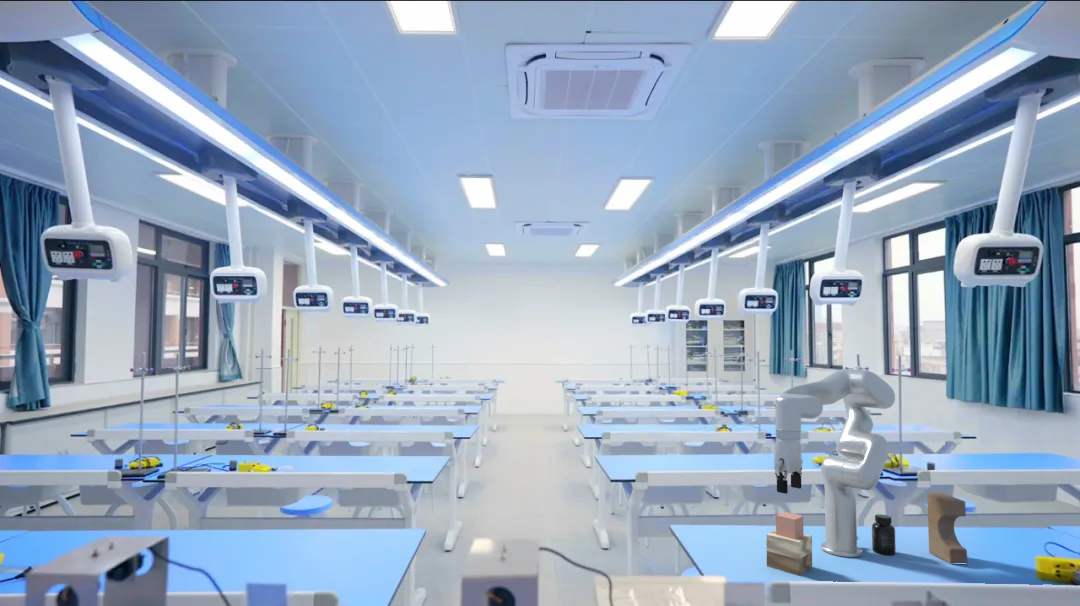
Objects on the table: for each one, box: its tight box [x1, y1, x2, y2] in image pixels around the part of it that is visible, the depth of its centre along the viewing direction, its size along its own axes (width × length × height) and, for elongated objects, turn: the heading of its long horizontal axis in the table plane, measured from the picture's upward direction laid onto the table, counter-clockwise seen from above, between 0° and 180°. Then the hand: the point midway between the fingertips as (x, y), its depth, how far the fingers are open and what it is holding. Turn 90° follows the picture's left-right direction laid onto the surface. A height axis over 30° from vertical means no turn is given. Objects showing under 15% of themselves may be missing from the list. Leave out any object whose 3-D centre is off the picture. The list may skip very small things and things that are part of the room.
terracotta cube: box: [775, 511, 804, 539], centre depth 188 cm, size 6×6×6 cm
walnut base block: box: [766, 550, 813, 576], centre depth 187 cm, size 10×10×5 cm
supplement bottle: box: [871, 513, 897, 557], centre depth 202 cm, size 7×7×12 cm
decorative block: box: [927, 492, 968, 564], centre depth 198 cm, size 11×6×20 cm, turn 0°
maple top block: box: [766, 529, 813, 559], centre depth 187 cm, size 10×10×5 cm
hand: (789, 490), depth 189 cm, fingers open, 9 cm apart
